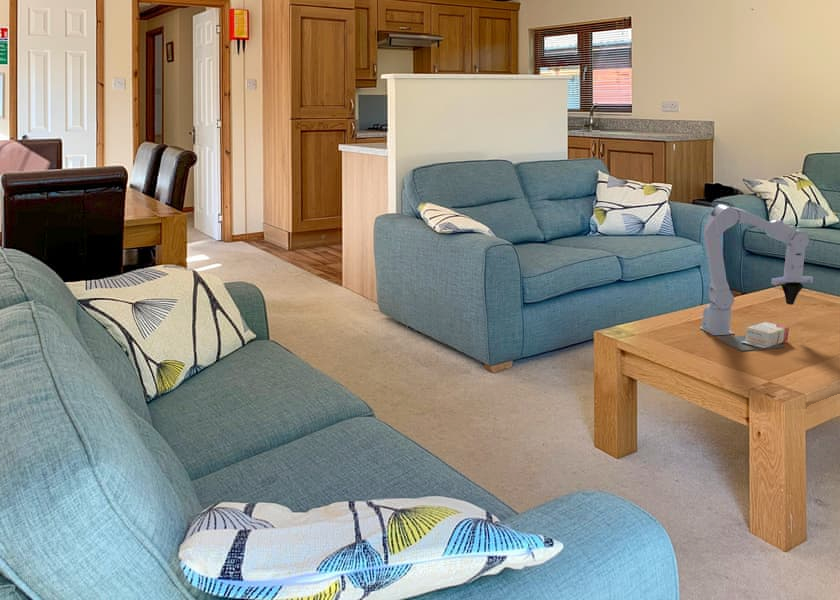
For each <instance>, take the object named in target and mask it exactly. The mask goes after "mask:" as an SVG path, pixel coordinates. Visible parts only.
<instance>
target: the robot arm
mask: <svg viewBox="0 0 840 600" xmlns="http://www.w3.org/2000/svg"><path fill="white" fill-rule="evenodd" d="M743 223H746V224H750V225H752V226H755V227H757V228H759V229H762V230H764V231H765V234H766V236H768V237H770V238H773V239H775V240H777V241H779V242H781V243H783V244H786V250H785V258H784V259H785V261H784V269H783V276H779V277H775V278H774V277H773V278H771V280H770V284H771V285H773V286H777V285H780V286H781V289H782V290H783V293H784V297H785V303H786V304H787V305H789V306H792V305H794V303H795V301H796V300H797V299H796V298H797V296H798V295H799V293H800V291H801V290H802V289H803V287H804V284H806V283H810V284H813V283H814V277H813V276H810V275H807V276H806V275H803V272H804V262H805V257H806V256H805V255H806V247H807V246H808V245H809V244H810V241H811V240H810V239H809V235H808V233H806V232H805V231H802V230H801V229H798V227H797V226H794V225H792V226H791V225H789V224H786V223H784V220H781V219H778V220H777V219H773V220H770V221H768V220H767V219H765V218H762V217H760V216H758V215H755V214H754V213H751V212H749V211H748V210H745V209H742V208H738V207H735V206H729V205H728V204H726V203H725V204H724V203H721V204H720V203H719V204H717V205H716V206H715V207H714V208H713V209H712V210H711V211H710V212H709V215H708V219H707V222H706V225H705V227H704V229H703V237H704V245H705V250H706V257H707V263H708V271H709V276H710V278H709V279H710V282H709V290H708V293H707V294H708V299H709V300H710V302H709V303H708V304H707V305H706V306H705V307H704V309H703V311H702V323H701V325H702V326H699V329H701V330H702V331H705V332H707V333H708V334H710V335H712V336H722V335H723V336H724V335H726V336H727V335H734V334H735V331H732V330H730V327H731V318H732V306H733V305H734V302H735V297H734V296H735V295H733V294H732V292H731V290H730V286H729V285H730V284H729V283H728V280H727V274H726V267H725V261H724V253H723V249H722V247H723V246H722V240H721V236H722V235H723V233H724V232H725V231H726V230H728V229H730V228H732V227H733V226H735V225H736V224H739V225H741V224H743ZM803 283H804V284H803ZM735 335H736V334H735Z"/></svg>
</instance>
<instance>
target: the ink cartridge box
mask: <svg viewBox="0 0 840 600" xmlns="http://www.w3.org/2000/svg"><path fill="white" fill-rule="evenodd" d="M745 329H746V331H745V335H746V337H745V341H741V342H743V343H746V344H750V345H753V346H757V347H760V348H766V347H771V346H773V345H776V344H782V343H785V342H788V338H789V331H790V327H787V326H783V325H780V324H776V323H771V322H768V321H764V322H761V323H757V324H754V325H750V326H747V327H746V328H745ZM754 344H755V345H754Z"/></svg>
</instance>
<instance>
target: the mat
mask: <svg viewBox="0 0 840 600" xmlns="http://www.w3.org/2000/svg"><path fill="white" fill-rule="evenodd" d="M745 337H746V334H745V335H735V336H724V337H723V336H722V337H721V336H720V337H716V340H718V341H720V342H722V343H723V344H726V345H728V346H730V347H732V348H733V349H735V350H738V351H739V352H750V351H751V352H752V351H760V350H761V351H762V350H763V351H765V350H773V349H784V348H785V346H784V345H782V344H781V343H779V344H776V345H773V346H771V347H766V348H760V347H757V346H753V345H750V344H746V343H743V342H741V341H745ZM754 345H755V344H754Z"/></svg>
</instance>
